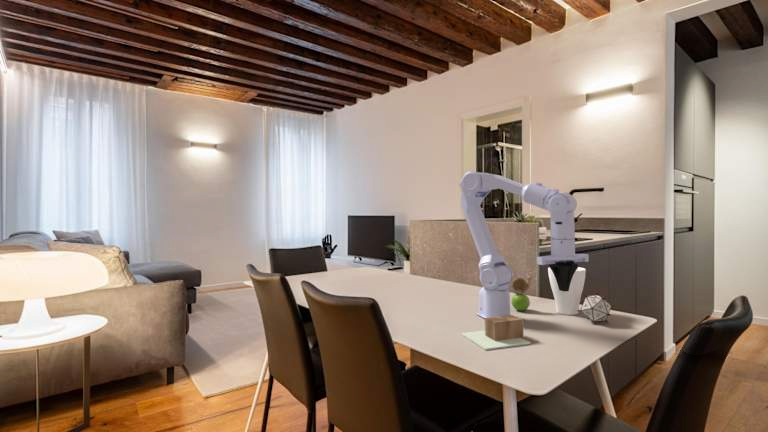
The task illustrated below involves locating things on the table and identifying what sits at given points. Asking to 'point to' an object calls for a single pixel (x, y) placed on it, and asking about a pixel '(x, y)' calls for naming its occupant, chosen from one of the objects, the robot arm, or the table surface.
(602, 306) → the game die
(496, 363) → the table surface
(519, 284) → the snail figurine
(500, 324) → the wooden block
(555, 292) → the cup
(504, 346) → the mat
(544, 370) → the table surface
